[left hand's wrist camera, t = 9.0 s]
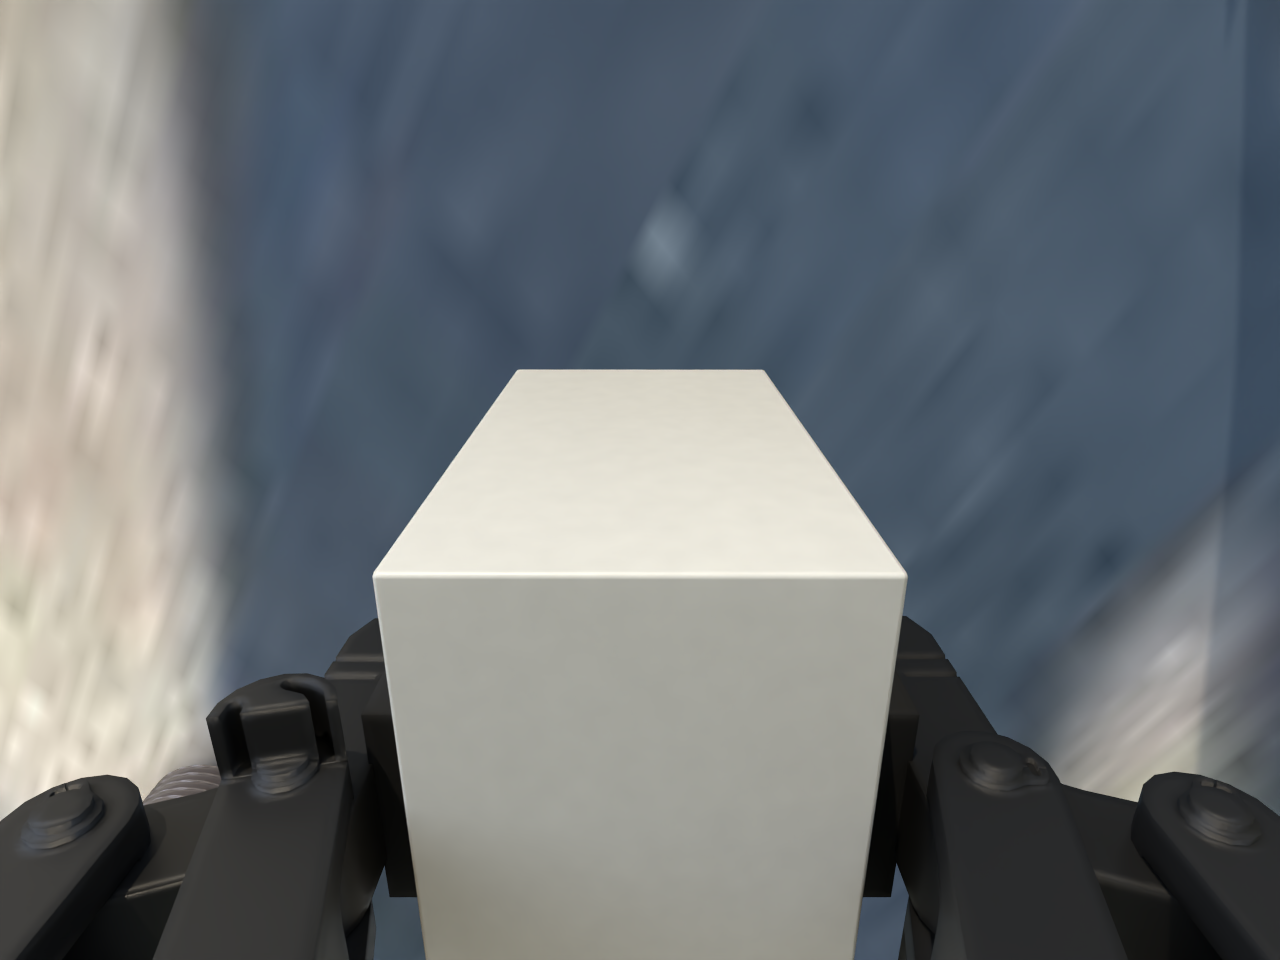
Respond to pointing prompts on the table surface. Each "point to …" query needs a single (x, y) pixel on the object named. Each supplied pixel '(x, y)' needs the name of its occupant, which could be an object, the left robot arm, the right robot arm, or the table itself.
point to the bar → (640, 677)
